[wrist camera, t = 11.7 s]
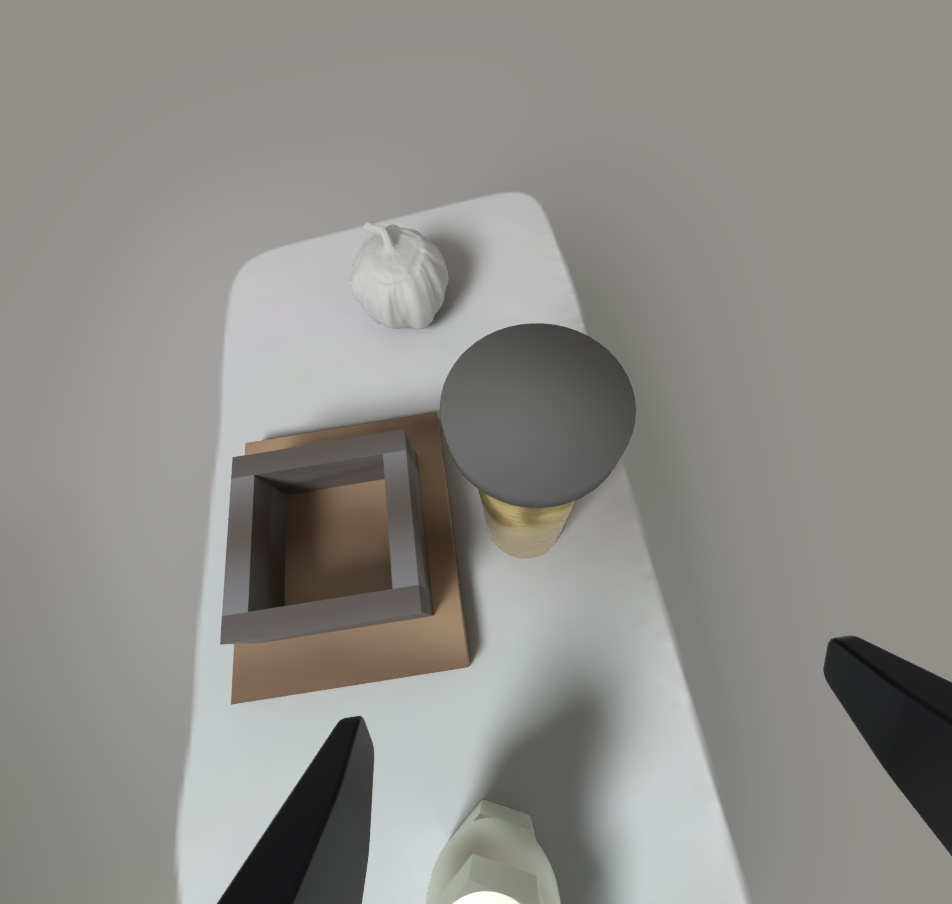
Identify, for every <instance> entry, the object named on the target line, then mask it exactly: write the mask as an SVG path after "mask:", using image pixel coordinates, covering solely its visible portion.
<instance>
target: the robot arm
mask: <svg viewBox="0 0 952 904" xmlns="http://www.w3.org/2000/svg"><path fill="white" fill-rule="evenodd" d="M824 676H825V678H826V681H827V683H828V684H829V686H830V688H831V689H832V691H833V692H834V694H835V695H836V697H837V698H838V700H839V701H840V703H841V704H842V706H843V707H844V709H845V710H846V712H847V713H848V715H849V716H850V718H851V720H852V721H853V722H854V724H855V726H856V727H857V729H858V730H859V732H860V733H861V735H862V736H863V738H864V739H865V741H866V742H867V744H868V746H869V747H870V749H871V750H872V752H873V753H874V755H875V756H876V758H877V759H878V760H879V762H880V763H881V765H882V766H883V768H884V769H885V770H886V771H887V773H888V774H889V776H890V777H891V778H892V780H893V781H894V782H895V784H896V785H897V786H898V788H899V789H900V790H901V791H902V793H903V794H904V795H905V797H906V798H907V799H908V800H909V802H910V803H911V804H912V806H913V807H914V808H915V809H916V811H917V812H918V813H919V815H920V816H921V817H922V818H923V820H924V821H925V822H926V824H927V825H928V826H929V828H930V829H931V830H932V831H933V833H934V834H935V835H936V837H937V838H938V839H939V840H940V842H941V843H942V844H943V846H944V847H945V848H946V849H947V850H948V852H949V853H950V855H951V856H952V682H950V681H948V680H946V679H943V678H942V677H939V676H937V675H935V674H933V673H931V672H929V671H927V670H925V669H923V668H921V667H919V666H917V665H914V664H913V663H911V662H908V661H906V660H904V659H902V658H900V657H898V656H896V655H894V654H892V653H890V652H888V651H886V650H884V649H882V648H880V647H878V646H875V645H873V644H871V643H869V642H867V641H865V640H863V639H861V638H859V637H856V636H843V637H837V638H833V639H831V640H830V641H829V642H828V646H827V652H826V657H825V662H824ZM373 769H374V747H373V743H372V740H371V737H370V734H369V732H368V729H367V726H366V723H365V721H364V719H363V718H362V717H361V716H355V717H349V718H344V719H342V720H340V721H339V722H338V723H337V725H336V726H335V728H334V729H333V731H332V732H331V734H330V735H329V737H328V738H327V740H326V741H325V743H324V744H323V746H322V747H321V749H320V750H319V752H318V753H317V755H316V756H315V758H314V759H313V761H312V762H311V764H310V765H309V767H308V768H307V770H306V771H305V773H304V774H303V776H302V777H301V779H300V780H299V782H298V783H297V785H296V786H295V788H294V789H293V791H292V792H291V794H290V795H289V797H288V798H287V800H286V801H285V803H284V804H283V806H282V807H281V809H280V810H279V812H278V813H277V815H276V816H275V817H274V819H273V820H272V822H271V823H270V825H269V826H268V828H267V829H266V831H265V832H264V834H263V835H262V837H261V838H260V840H259V841H258V843H257V844H256V846H255V847H254V849H253V850H252V852H251V853H250V855H249V856H248V858H247V859H246V861H245V862H244V864H243V865H242V867H241V868H240V870H239V871H238V873H237V874H236V876H235V877H234V879H233V880H232V882H231V883H230V885H229V886H228V888H227V889H226V891H225V892H224V894H223V895H222V897H221V898H220V900H219V901H218V903H217V904H362V898H363V891H364V884H365V877H366V870H367V863H368V854H369V842H370V825H371V806H372V788H373Z"/></svg>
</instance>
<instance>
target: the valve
mask: <svg viewBox="0 0 952 904" xmlns="http://www.w3.org/2000/svg"><path fill="white" fill-rule="evenodd" d="M426 904H560V895H559V891H558V886H557V882H556V878H555V875H554V872H553V869H552V867H551V865H550V862H549V860H548V858H547V856H546V855H545V853H544V851H543V850H542V848H541V847H540V845H539V844H538V843H537V840H536V836H535V832H534V829H533V825H532V821H531V817H530V815H529V814H526V813H523V812H520V811H517V810H514V809H511V808H508V807H505V806H502V805H499V804H496V803H493V802H490V801H487V800H483V799H482V800H481V801H480V802H479V804H478V805H477V806H476V807H475V809H474V810H473V811H472V812H471V813H470V815H469V816H468V817H467V818H466V820H465V821H464V822H463V823H462V825H461V826H460V827H459V828H458V830H457V831H456V832H455V833H454V834H453V836H452V837H451V838H450V840H449V841H448V842H447V844H446V845H445V847H444V848H443V850H442V851H441V853H440V854H439V857H438V859H437V861H436V864H435V866H434V868H433V871H432V874H431V878H430V882H429V886H428V892H427V900H426Z"/></svg>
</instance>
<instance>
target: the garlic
mask: <svg viewBox="0 0 952 904" xmlns="http://www.w3.org/2000/svg"><path fill="white" fill-rule="evenodd" d="M364 229H365V230H366V231H367V232H369V233H371V234H375V235H373V236H372V237H371V238H369V239H367V240H366V241H365V242H364V244H363V246H362V248H361V249H360V251H359V252H358V253H357V255H356V256H355V258H354V260H353V263H352V271H351V291H352V294H353V296H354V298H355V300H356V301H357V302H358V304H359V305H360V306H361V307H363V308H364V309H365V310H366V311H367V312H368V314H369V316H370V318H371V319H372V320H373V321H374V322H376V323H382V324H383V325H384V326H386V327H388V328H391V329H401V328H409V327H413V328H415V329H424V328H426V327H427V326H428V325H429V324H430V323H431V322H432V321H433V319H434V316H435V314H436V313H437V311H438V310H439V309H440V308H441V306H442V304H443V302H444V299H445V290H446V287H447V285H448V280H449V276H448V270H447V266H446V263H445V260H444V257H443V255H442V254H441V252H440V251H439V249H438V248H437V247H436V246H435V245H434V244H432V243H431V242H430V241H428V240H427V239H426V238H425V237H424V236H422V235H421V234H420V233H419V232H417V231H416V230H413V229H406V228H401V227H398V226H396V225H389V226H387V227H386V228H384V227H383V226H381V225H377V224H374V223H371V222H367V223H366V224H365V226H364Z"/></svg>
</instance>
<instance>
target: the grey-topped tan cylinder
mask: <svg viewBox="0 0 952 904" xmlns="http://www.w3.org/2000/svg"><path fill="white" fill-rule="evenodd" d="M635 411H636V407H635V398H634V393H633V389H632V386H631V383H630V381H629V378H628V376H627V374H626V373H625V371H624V369H623V367H622V366H621V365H620V363H619V362H618V361H617V359H616V358H615V357H614V356H613V355H612V354H611V353H610V352H609V351H608V350H607V349H606V348H605V347H603V346H602V345H601V344H600V343H598V342H597V341H595V340H594V339H592V338H590V337H589V336H587V335H585V334H582V333H580V332H578V331H576V330H573V329H570V328H567V327H562V326H558V325H552V324H542V323H540V324H522V325H516V326H511V327H507V328H504V329H501V330H498V331H496V332H493V333H491V334H489V335H487V336H485V337H484V338H482V339H480V340H479V341H477V342H476V343H474V344H473V345H472V346H471V347H470V348H468V349H467V350H466V351H465V352H464V353H463V354H462V355H461V356H460V357H459V359H458V360H457V361H456V363H455V364H454V365H453V367H452V369H451V370H450V372H449V374H448V376H447V378H446V381H445V383H444V386H443V390H442V395H441V402H440V417H441V423H442V428H443V432H444V435H445V438H446V441H447V443H448V446H449V449H450V452H451V455H452V457H453V459H454V461H455V463H456V465H457V466H458V468H459V469H460V471H461V472H462V473H463V475H464V476H465V477H466V478H467V479H468V480H469V481H470V482H471V483H472V484H473V485H474V486H475V487H477V488H478V489H479V493H480V498H481V502H482V506H483V510H484V515H485V519H486V523H487V527H488V531H489V534H490V536H491V538H492V540H493V541H494V543H495V544H496V545H497V546H498V547H499V548H500V549H501V550H502V551H504V552H505V553H507V554H509V555H511V556H515V557H519V558H531V557H536V556H538V555H541V554H543V553H545V552H546V551H548V550H549V549H550V548H551V547H552V546H553V545H554V544H555V542H556V541H557V539H558V537H559V535H560V533H561V531H562V529H563V527H564V524H565V522H566V520H567V518H568V516H569V514H570V512H571V510H572V508H573V506H574V504H575V501H576V500H577V499H579V498H581V497H583V496H585V495H587V494H588V493H590V492H591V491H593V490H594V489H595V488H597V487H598V486H599V485H600V484H601V483H602V482H603V481H604V480H605V479H606V478H607V477H608V475H609V474H610V473H611V472H612V470H613V469H614V467H615V466H616V464H617V462H618V461H619V459H620V458H621V456H622V454H623V452H624V451H625V449H626V447H627V445H628V443H629V440H630V438H631V436H632V432H633V428H634V424H635V414H636V412H635Z"/></svg>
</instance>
